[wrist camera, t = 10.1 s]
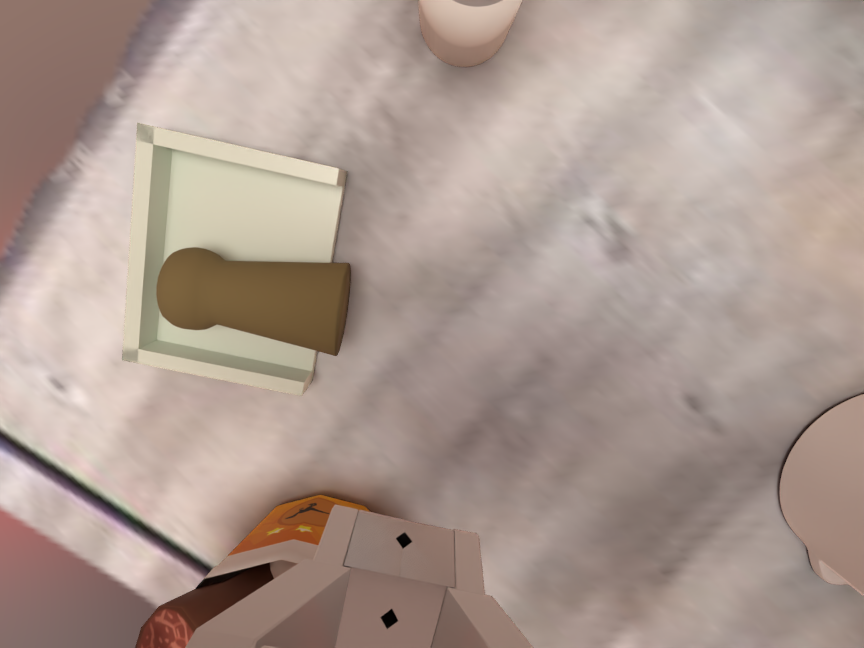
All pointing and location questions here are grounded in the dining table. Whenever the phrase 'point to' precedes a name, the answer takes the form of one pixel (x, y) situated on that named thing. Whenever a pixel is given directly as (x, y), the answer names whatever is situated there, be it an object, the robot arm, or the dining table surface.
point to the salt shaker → (466, 28)
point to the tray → (223, 247)
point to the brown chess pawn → (257, 297)
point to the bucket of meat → (244, 570)
